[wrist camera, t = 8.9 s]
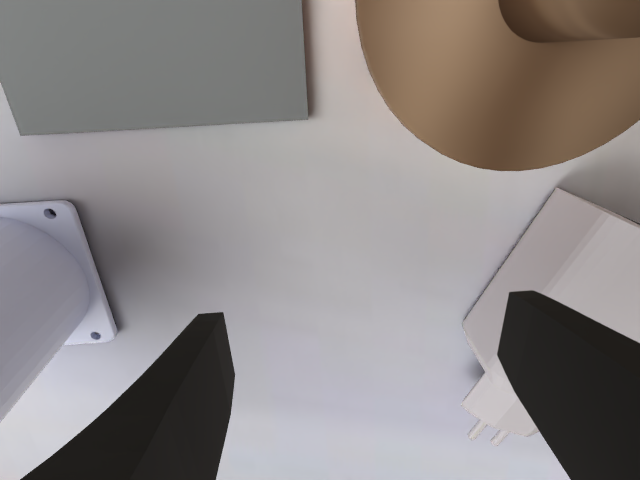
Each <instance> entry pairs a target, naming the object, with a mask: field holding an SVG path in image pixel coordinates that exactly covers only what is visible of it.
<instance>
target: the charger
mask: <svg viewBox="0 0 640 480" xmlns="http://www.w3.org/2000/svg"><path fill="white" fill-rule="evenodd" d="M529 290H534V291H536V292H538V293H541V294H543V295H545V296H548V297H550V298H552V299H554V300H556V301H558V302H560V303H562V304H564V305H566V306H568V307H570V308H572V309H574V310H576V311H578V312H580V313H581V314H583V315H585V316H587V317H589V318H591V319H593V320H595V321H597V322H599V323H601V324H603V325H605V326H607V327H609V328H611V329H613V330H615V331H617V332H619V333H621V334H623V335H625V336H627V337H629V338H631V339H633V340H635V341H637V342H639V343H640V224H639V223H636V222H634V221H632V220H630V219H628V218H625V217H623V216H621V215H619V214H617V213H614V212H612V211H610V210H608V209H605V208H603V207H601V206H598V205H596V204H594V203H592V202H589V201H587V200H585V199H582V198H580V197H578V196H576V195H573V194H571V193H569V192H566V191H564V190H562V189H559V188H557V187H556V189H555V190H554V192H553V193H552V195H551V196H550V197H549V199H548V200H547V202H546V203H545V205H544V206H543V207H542V209H541V210H540V212H539V213H538V215H537V216H536V218H535V219H534V220H533V222H532V223H531V225H530V226H529V228H528V229H527V231H526V232H525V233H524V235H523V236H522V238H521V239H520V241H519V242H518V244H517V245H516V246H515V248H514V249H513V251H512V252H511V254H510V255H509V256H508V258H507V259H506V261H505V262H504V264H503V265H502V267H501V268H500V269H499V271H498V272H497V274H496V275H495V277H494V278H493V280H492V281H491V282H490V284H489V285H488V287H487V288H486V290H485V291H484V293H483V294H482V295H481V297H480V298H479V300H478V301H477V303H476V304H475V305H474V307H473V308H472V310H471V311H470V313H469V314H468V316H467V317H466V318H465V320H464V321H463V323H462V326H463V329H464V332H465V335H466V338H467V342H468V344H469V346H470V348H471V349H472V351H473V353H474V354H475V356H476V358H477V359H478V361H479V363H480V364H481V366H482V368H483V369H484V371H485V372H484V374H483V375H482V376H481V378H480V379H479V380H478V382H477V383H476V384H475V385H474V387H473V388H472V389H471V391H470V392H469V393H468V395H467V396H466V397H465V398H464V400H463V402H462V404H461V406H462V407H463V408H464V409H465V410H466V411H468V412H469V413H470V414H472V415H473V416H475V417H477V418H478V419H480V420H479V421H478V422H477V423H476V425H475V426H474V427H473V428H472V429H471V431H470V432H469V433H468V437H469V438H470V439H471V440H475V439H476V438H477V436H478V435H479V434H480V433H481V432H482V430H483V429H484V428H485V427H486V426H487V424H488V425H490V426H491V427H493V428H496V429H500V430H499V431H498V432H497V434H496V435H495V436H494V437H493V438H492V439H491V443H492V444H493V445H494V446H498V445H499V444H500V443H501V442H502V441H503V439H504V438H505V437H506V436H507V435H508V434H509V433H510V432H511V433H514V434H518V435H522V436H526V437H528V436H530V435H533V434H535V433H537V432H539V430H538V428H537V427H536V425H535V424H534V422H533V420H532V419H531V417H530V416H529V414H528V413H527V411H526V409H525V408H524V406H523V405H522V403H521V402H520V400H519V398H518V397H517V395H516V393H515V392H514V390H513V388H512V386H511V384H510V382H509V380H508V378H507V376H506V374H505V372H504V369H503V367H502V365H501V363H500V360H499V358H498V356H497V352H498V347H499V341H500V336H501V331H502V326H503V321H504V316H505V311H506V306H507V301H508V296H509V292H515V291H529Z"/></svg>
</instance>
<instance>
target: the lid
mask: <svg viewBox="0 0 640 480" xmlns="http://www.w3.org/2000/svg"><path fill="white" fill-rule="evenodd" d="M355 3H356V19H357V25H358V31H359V36H360V42H361V47H362V50H363V53H364V57H365V60H366V63H367V66H368V70H369V72H370V74H371V76H372V78H373V81H374V83H375V85H376V87H377V89H378V91H379V93H380V95H381V96H382V98H383V99H384V101H385V103H386V104H387V106H388V107H389V109H390V110H391V111H392V113H393V114H394V115H395V116H396V117H397V118H398V120H399V121H400V122H401V123H402V124H403V125H404V126H405V127H406V128H407V129H408V130H409V131H410V132H411V133H413V134H414V135H415V136H416V137H417V138H418V139H420V140H421V141H423V142H424V143H426V144H427V145H429V146H430V147H432V148H433V149H435V150H436V151H438V152H439V153H441V154H443V155H445V156H447V157H449V158H451V159H454V160H456V161H458V162H460V163H464V164H467V165H470V166H474V167H477V168H482V169H490V170H497V171H523V170H531V169H539V168H544V167H548V166H552V165H556V164H560V163H563V162H566V161H568V160H571V159H574V158H576V157H579V156H582V155H584V154H586V153H588V152H590V151H592V150H594V149H596V148H598V147H600V146H602V145H604V144H606V143H607V142H609V141H610V140H612V139H613V138H615V137H617V136H618V135H620V134H621V133H623V132H624V131H626V130H627V129H628V128H630V127H631V126H632V125H634V124H635V123H636V122H637V121H639V120H640V0H355Z"/></svg>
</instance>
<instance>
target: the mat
mask: <svg viewBox="0 0 640 480" xmlns="http://www.w3.org/2000/svg"><path fill="white" fill-rule="evenodd" d="M0 82H1V84H2V87H3V90H4V92H5V95H6V98H7V100H8V103H9V106H10V108H11V111H12V114H13V117H14V119H15V122H16V125H17V127H18V130H19V133H20V135H21V136H25V135H43V134H60V133H78V132H96V131H113V130H131V129H149V128H166V127H184V126H202V125H220V124H237V123H255V122H273V121H290V120H308V104H307V87H306V69H305V52H304V35H303V17H302V0H0Z"/></svg>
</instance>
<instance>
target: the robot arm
mask: <svg viewBox="0 0 640 480" xmlns="http://www.w3.org/2000/svg"><path fill="white" fill-rule="evenodd" d="M49 209H52V210H54V211H55V213H56V216H54V215H52V214H51V213H50V212H49ZM95 332H97V333H99V334H100V335H98V334H96V333H95ZM116 335H117V328H116V325H115V322H114V319H113V316H112V313H111V310H110V307H109V305H108V302H107V299H106V296H105V293H104V290H103V287H102V284H101V281H100V278H99V275H98V272H97V269H96V266H95V263H94V261H93V258H92V255H91V252H90V249H89V246H88V243H87V240H86V237H85V234H84V231H83V228H82V225H81V222H80V219H79V217H78V214H77V211H76V209H75V207H74V205H72V204H71V203H70V202H68V201H64V200H57V201H41V202H25V203H9V204H0V422H1V421H2V420H3V419H4V417H5V416H6V415H7V414H8V412H9V411H10V410H11V409H12V407H13V406H14V405H15V404H16V402H17V401H18V400H19V399H20V397H21V396H22V395H23V394H24V393H25V391H26V390H27V389H28V388H29V386H30V385H31V384H32V383H33V381H34V380H35V379H36V378H37V376H38V375H39V374H40V373H41V371H42V370H43V369H44V368H45V366H46V365H47V364H48V363H49V361H50V360H51V359H52V358H53V357H54V355H55V354H56V353H57V352H58V350H59V349H60V348H61V347H62V345H72V344H86V343H100V342H110V341H112V340H114V338H115V337H116ZM497 356H498V358H499V360H500V363H501V365H502V367H503V369H504V372H505V374H506V376H507V378H508V380H509V382H510V384H511V386H512V388H513V390H514V392H515V393H516V395H517V397H518V398H519V400H520V402H521V403H522V405H523V406H524V408H525V409H526V411H527V413H528V414H529V416H530V417H531V419H532V420H533V422H534V424H535V425H536V427H537V428H538V430H539V431H540V433H541V434H542V436H543V437H544V439H545V441H546V442H547V444H548V445H549V447H550V448H551V450H552V451H553V453H554V454H555V456H556V457H557V459H558V461H559V462H560V464H561V465H562V467H563V468H564V470H565V471H566V473H567V474H568V476H569V478H570V479H571V480H640V343H639V342H637V341H635V340H633V339H631V338H629V337H627V336H625V335H623V334H621V333H619V332H617V331H615V330H613V329H611V328H609V327H607V326H605V325H603V324H601V323H599V322H597V321H595V320H593V319H591V318H589V317H587V316H585V315H583V314H581V313H580V312H578V311H576V310H574V309H572V308H570V307H568V306H566V305H564V304H562V303H560V302H558V301H556V300H554V299H552V298H550V297H548V296H545V295H543V294H541V293H538V292H536V291H534V290H529V291H515V292H509V296H508V301H507V306H506V311H505V316H504V321H503V326H502V331H501V336H500V341H499V347H498V352H497ZM234 379H235V372H234V367H233V362H232V356H231V351H230V346H229V340H228V335H227V330H226V324H225V319H224V314H223V312H220V313H206V314H198V315H197V316H196V317H195V318H194V319H193V320H192V322H191V323H190V324H189V325H188V326H187V327H186V328H185V329H184V330H183V331H182V332H181V334H180V335H179V336H178V337H177V338H176V339H175V340H174V341H173V342H172V343H171V345H170V346H169V347H168V348H167V349H166V350H165V351H164V352H163V353H162V354H161V355H160V356H159V358H158V359H157V360H156V361H155V362H154V363H153V364H152V365H151V366H150V367H149V368H148V369H147V370H146V371H145V372H144V373H143V374H142V375H141V376H140V377H139V378H138V379H137V380H136V381H135V382H134V383H133V384H132V385H131V386H130V387H129V388H128V389H127V390H126V391H125V392H124V393H123V394H122V395H121V396H120V397H119V398H118V399H117V400H116V401H115V402H114V403H113V404H112V405H111V406H110V407H109V408H107V409H106V410H105V411H104V412H103V413H102V414H101V415H100V416H99V417H97V418H96V419H95V420H94V421H93V422H92V423H91V424H89V425H88V426H87V427H86V428H85V429H84V430H82V431H81V432H80V433H79V434H78V435H76V436H75V437H74V438H73V439H72V440H70V441H69V442H68V443H67V444H66V445H64V446H63V447H62V448H61V449H60V450H58V451H57V452H56V453H55V454H53V455H52V456H51V457H50V458H48V459H47V460H46V461H44V462H43V463H42V464H40V465H39V466H38V467H36V468H35V469H34V470H32V471H31V472H30V473H28V474H27V475H26V476H24V477H23V478H22V479H20V480H216V476H217V472H218V467H219V463H220V459H221V454H222V450H223V446H224V441H225V437H226V433H227V428H228V424H229V419H230V415H231V407H232V399H233V389H234Z"/></svg>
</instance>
